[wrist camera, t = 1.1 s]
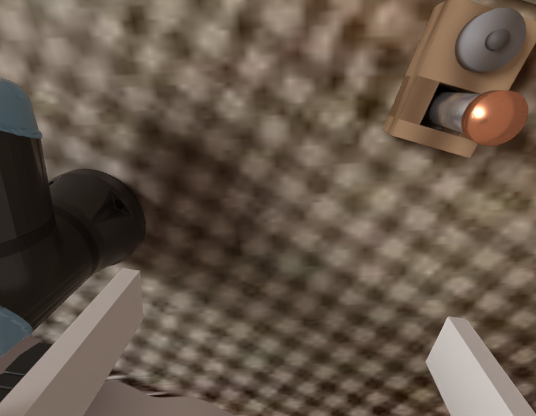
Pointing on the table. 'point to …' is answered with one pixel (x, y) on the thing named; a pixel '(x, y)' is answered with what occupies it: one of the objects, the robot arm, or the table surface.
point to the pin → (480, 114)
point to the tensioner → (459, 66)
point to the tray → (530, 1)
